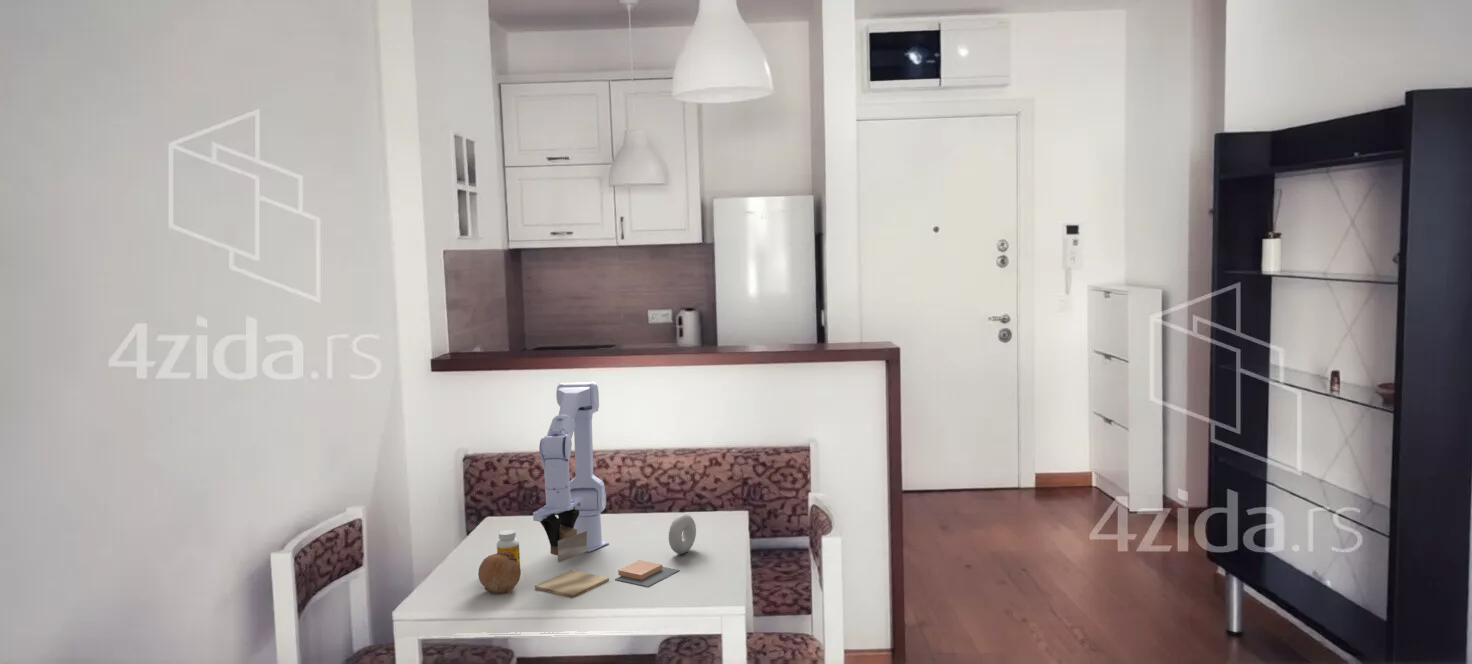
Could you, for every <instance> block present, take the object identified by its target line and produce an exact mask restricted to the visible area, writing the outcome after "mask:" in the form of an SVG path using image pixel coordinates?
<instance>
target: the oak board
mask: <svg viewBox="0 0 1472 664" xmlns="http://www.w3.org/2000/svg"><path fill="white" fill-rule="evenodd" d="M609 579H610V578H609V577H606V576H602V575H601V576H600V575H597V574H592V573H587V572H582V571H580V570H579V571H578V570H573V569H570V570H568V571H566V572H564V573H560V574H559V575H555V576H554V577H552V578H550V579H547V580H546V581H542V582H541V583H539V584H536V585H535V586H534V589H535V590H541V591H545V592H549V593H552V594H557V595H560V596H561V595H562V596H566V597H568V598H569V597H570V598H573V597H574V598H576V597H577V595H578V596H580V595H582V594H584V593H585V592H588V591H590V590H592V589H595V588H596V587H598V586H600V584H601V585H603V584H604V583H607V582H609V581H610V580H609ZM602 583H603V584H602ZM587 590H588V591H587ZM583 592H584V593H583ZM581 593H582V594H581ZM579 594H580V595H579ZM575 596H576V597H575Z"/></svg>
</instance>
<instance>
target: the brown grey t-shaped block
mask: <svg viewBox="0 0 1472 664" xmlns="http://www.w3.org/2000/svg"><path fill="white" fill-rule="evenodd" d="M586 552H587V531H586V530H584V531H582V532H579V533H577V529H574V528H571V527H567V526H564V525H560V530H559V541H558V546H557V547H555V546H551V545H550V554H551V555H553V556H557V563H562V562H565V561H567V560H569V559H572V558H574V557H576V556H578V555H581V554H584V553H586Z"/></svg>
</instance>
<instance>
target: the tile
mask: <svg viewBox="0 0 1472 664" xmlns="http://www.w3.org/2000/svg"><path fill="white" fill-rule="evenodd" d="M662 567H663V564H660V563H655V562H652V561H646V560H642V559H641V560H640V559H639V560H637V561H635V562H633V563H630V564H629V565H626V566H624V567H622V568H620V569H618V570H617V573H618V576H619V577H620V576H624V577H629V578H633V579H638V580H643V579H645V578H647V577H649V576H651V575H653V574H655V573H657V572H659V571H661V570H662Z"/></svg>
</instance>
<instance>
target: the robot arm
mask: <svg viewBox="0 0 1472 664" xmlns="http://www.w3.org/2000/svg"><path fill="white" fill-rule="evenodd" d="M599 394H600V393H599V387H598V384H597V383H596V382H595V381H591V382H590V381H589V382H565V383H564V382H560V383H558V385H557V387H556V393H555V396H556V403H557V405H558V407H559V410H558V411H559V412H558V415H556V416H554V417H553V418H552V420H551V423H550V426H549V428H548V431H547V433H546V435H545V436H544V437H542V438H541V439H540V441H539V445H538V448H539V452H538V453H539V457H540V460H541V467H542V469H543V473H544V475H543V477H544V490H545V491H544V492H545V505H543V506H542V507H540V508H539V509H537V510H535V511H533V512H532V520H533V522H539V523H540V525H542V527H543V529H544V531H545V534H546V535H547V539H548V542H549V545H550V547H551V546H555V547H557V546H558V541H559V530H560V525H564V526H567V527H571V528H574V529H577V533H579V532H582V531H584V530H586V531H587V551H586V552H587V553H588V552H589V553H591V552H592V551H595V550H596V549H597V550H598V549H601V548H602V547H604V546H607V545H609V544H610V541H608V540H603V538H602V537H603V536H602V519H601V518H602V516H601V513H603V511H604V510H605V508H606V506H607V494H606V487H605V486H606V485H605V482H604V481H603V480H601V479H600V478H599V477H598V476H596V475H595V474H594V453H593V452H594V450H593V446H594V445H593V414H595V413H596V412H599V408H600V395H599ZM572 439H574V440H573V441H574V469H575V470H574V471H575V476H574V478H572V479H571V480H570V477H571V476H570V461H569V460H570V459H571V455H572V444H573V442H572Z"/></svg>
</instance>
